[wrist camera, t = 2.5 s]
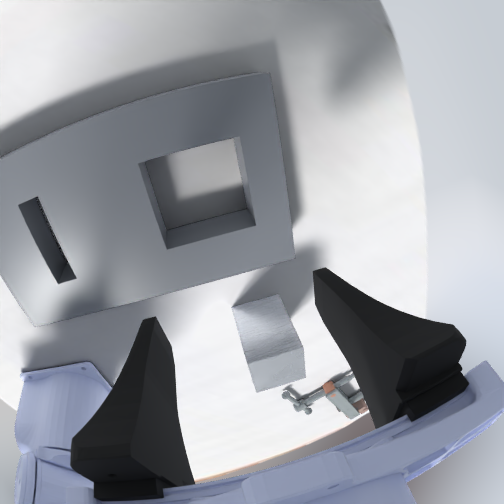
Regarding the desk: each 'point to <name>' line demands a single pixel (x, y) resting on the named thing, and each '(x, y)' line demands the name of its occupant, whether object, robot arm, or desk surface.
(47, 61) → the desk surface
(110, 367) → the desk surface
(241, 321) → the square bit
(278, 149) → the plate
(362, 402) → the clamp
